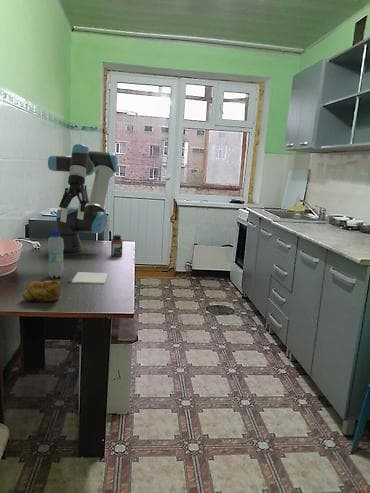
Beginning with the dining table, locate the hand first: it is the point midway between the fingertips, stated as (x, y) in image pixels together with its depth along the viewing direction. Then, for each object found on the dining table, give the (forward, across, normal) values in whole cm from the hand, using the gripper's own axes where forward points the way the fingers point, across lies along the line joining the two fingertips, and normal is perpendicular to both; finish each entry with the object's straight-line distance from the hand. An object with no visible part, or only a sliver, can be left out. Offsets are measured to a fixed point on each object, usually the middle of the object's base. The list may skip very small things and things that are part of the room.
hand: (71, 220), depth 179 cm
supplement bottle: (+11, -8, +36) cm, 38 cm away
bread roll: (+38, +25, -24) cm, 51 cm away
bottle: (+27, +5, -7) cm, 29 cm away
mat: (+27, +16, +2) cm, 31 cm away
